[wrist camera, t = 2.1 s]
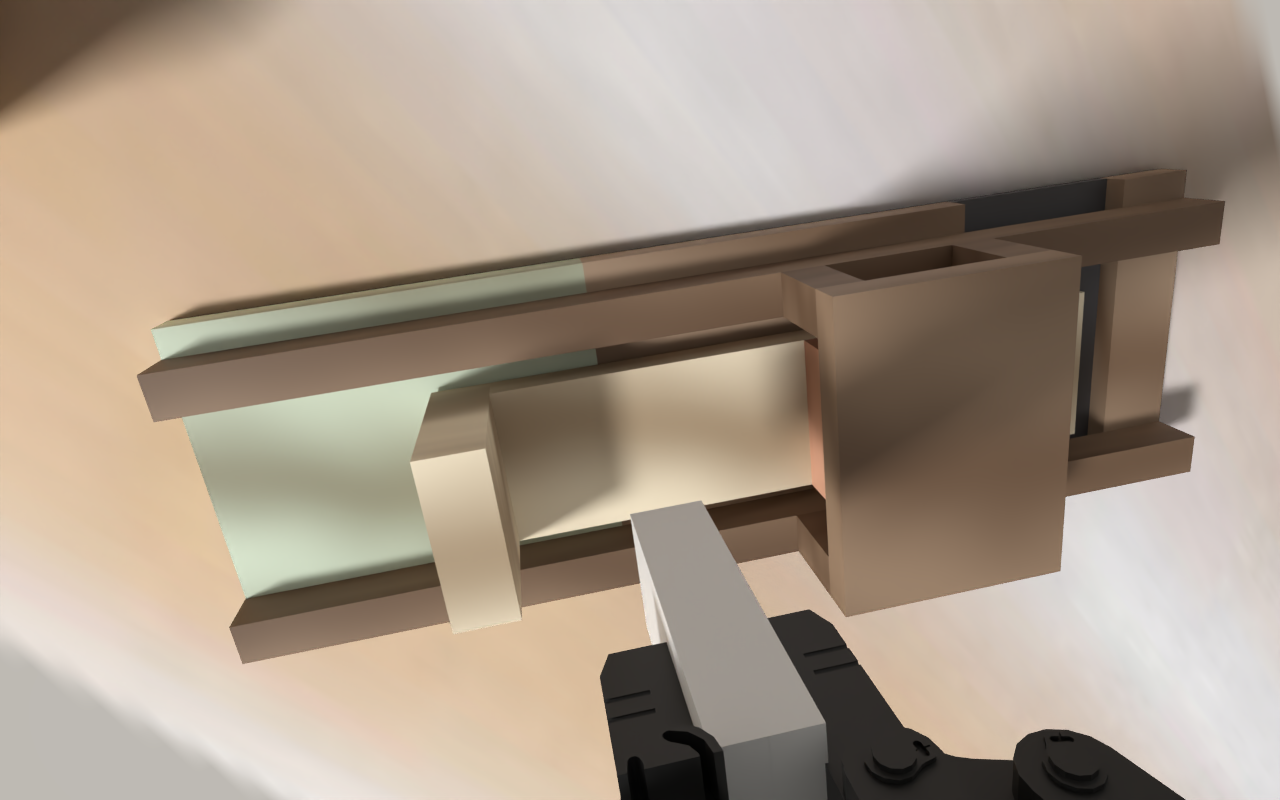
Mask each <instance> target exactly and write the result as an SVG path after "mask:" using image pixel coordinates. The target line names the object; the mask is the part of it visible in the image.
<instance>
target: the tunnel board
mask: <svg viewBox="0 0 1280 800" xmlns="http://www.w3.org/2000/svg"><path fill="white" fill-rule="evenodd" d="M1186 172H1187V170H1173V169H1156V170H1150V171H1143V172H1137V173H1130V174H1123V175H1117V176H1110V177H1104V178H1097V179H1091V180H1084V181H1078V182H1071V183H1065V184H1058V185H1052V186H1045V187H1039V188H1032V189H1026V190H1019V191H1013V192H1006V193H999V194H993V195H986V196H980V197H973V198H967V199H960V200H954V201H947V202H941V203H934V204H928V205H921V206H915V207H908V208H902V209H895V210H889V211H882V212H876V213H869V214H862V215H856V216H849V217H843V218H836V219H830V220H823V221H817V222H810V223H804V224H797V225H791V226H784V227H778V228H771V229H765V230H758V231H752V232H745V233H738V234H732V235H725V236H719V237H712V238H706V239H699V240H693V241H686V242H680V243H673V244H667V245H660V246H654V247H647V248H641V249H634V250H628V251H621V252H614V253H608V254H601V255H595V256H588V257H582V258H575V259H569V260H562V261H556V262H549V263H543V264H536V265H530V266H523V267H517V268H510V269H504V270H497V271H491V272H484V273H477V274H471V275H464V276H458V277H451V278H445V279H438V280H432V281H425V282H419V283H412V284H406V285H399V286H393V287H386V288H380V289H373V290H367V291H360V292H353V293H347V294H340V295H334V296H327V297H321V298H314V299H308V300H301V301H295V302H288V303H282V304H275V305H269V306H262V307H256V308H249V309H243V310H236V311H230V312H223V313H216V314H210V315H203V316H197V317H190V318H184V319H177V320H171V321H166V322H165V323H163V324H161V325H159V326H157V327H155V328H153V329H151V331H152V334H153V337H154V340H155V343H156V346H157V348H158V351H159V354H160V357H161V361H159V362H157V363H156V364H154V365H153V366H151V367H149V368H148V369H146V370H145V371H143V372H142V373H140V374H138V375H137V378H138V381H139V383H140V386H141V389H142V391H143V394H144V397H145V400H146V402H147V405H148V408H149V411H150V413H151V416H152V419H153V421H154V422H158V421H164V420H170V419H176V418H182V419H183V422H184V425H185V428H186V430H187V433H188V436H189V439H190V442H191V445H192V447H193V450H194V453H195V456H196V459H197V462H198V464H199V467H200V470H201V473H202V476H203V478H204V481H205V484H206V487H207V490H208V493H209V495H210V498H211V501H212V504H213V507H214V510H215V512H216V515H217V518H218V521H219V524H220V527H221V529H222V532H223V535H224V538H225V541H226V544H227V546H228V549H229V552H230V555H231V558H232V560H233V563H234V566H235V569H236V572H237V575H238V577H239V580H240V583H241V586H242V589H243V592H244V594H245V597H246V600H245V601H244V603H243V605H242V606H241V608H240V610H239V612H238V613H237V615H236V617H235V619H234V620H233V622H232V624H231V626H230V627H229V628H230V631H231V633H232V636H233V639H234V642H235V644H236V647H237V650H238V652H239V655H240V658H241V661H242V663H243V664H245V663H250V662H255V661H260V660H265V659H270V658H275V657H280V656H285V655H289V654H294V653H299V652H304V651H309V650H314V649H319V648H324V647H329V646H334V645H339V644H344V643H348V642H353V641H358V640H363V639H368V638H373V637H378V636H383V635H388V634H393V633H398V632H403V631H407V630H412V629H417V628H422V627H427V626H432V625H437V624H442V623H447V622H450V620H449V616H448V612H447V608H446V604H445V600H444V596H443V592H442V588H441V584H440V580H439V576H438V572H437V568H436V564H435V560H434V556H433V552H432V548H431V544H430V540H429V536H428V532H427V528H426V524H425V520H424V516H423V512H422V509H421V505H420V501H419V497H418V493H417V489H416V485H415V481H414V477H413V473H412V469H411V465H410V460H411V457H412V454H413V450H414V447H415V444H416V440H417V437H418V434H419V431H420V427H421V424H422V421H423V418H424V414H425V411H426V408H427V404H428V401H429V398H430V395H431V393H433V392H439V391H445V390H451V389H457V388H462V387H468V386H474V385H480V384H486V383H492V382H498V381H504V380H510V379H516V378H521V377H527V376H533V375H539V374H545V373H551V372H557V371H563V370H569V369H575V368H580V367H586V366H592V365H598V364H604V363H610V362H616V361H622V360H628V359H634V358H639V357H645V356H651V355H657V354H663V353H669V352H675V351H681V350H687V349H693V348H698V347H704V346H710V345H716V344H722V343H728V342H734V341H740V340H746V339H752V338H757V337H763V336H769V335H775V334H781V333H787V332H793V331H799V330H805V331H807V332H808V333H810V334H812V335H813V336H815V337H816V338H818V352H819V372H820V393H821V413H822V433H823V453H824V473H825V494H826V499H825V498H824V497H823V496H822V495H821V494H820V493H819V492H818V490H817V489H816V488H815V487H814V486H813V485H812V484H811V485H806V486H801V487H796V488H791V489H786V490H780V491H775V492H770V493H765V494H760V495H755V496H749V497H744V498H739V499H734V500H729V501H724V502H718V503H713V504H708V505H704V506H705V508H706V510H707V511H708V513H709V515H710V517H711V519H712V520H713V522H714V524H715V526H716V527H717V529H718V531H719V533H720V535H721V536H722V538H723V540H724V542H725V544H726V545H727V547H728V549H729V551H730V552H731V554H732V556H733V558H734V560H735V561H736V563H742V562H747V561H752V560H757V559H762V558H767V557H772V556H776V555H781V554H786V553H791V552H796V551H799V552H800V553H801V555H802V556H803V558H804V559H805V560H806V562H807V563H808V565H809V566H810V567H811V569H812V570H813V572H814V573H815V574H816V576H817V577H818V579H819V580H820V581H821V583H822V584H823V586H824V587H825V588H826V590H827V591H828V593H829V594H830V595H831V597H832V598H833V600H834V601H835V603H836V604H837V605H838V607H839V608H840V610H841V611H842V612H843V614H844V615H845V617H849V616H854V615H858V614H863V613H868V612H872V611H877V610H882V609H886V608H891V607H896V606H900V605H905V604H909V603H914V602H919V601H923V600H928V599H933V598H937V597H942V596H947V595H951V594H956V593H961V592H965V591H970V590H975V589H979V588H984V587H989V586H993V585H998V584H1003V583H1007V582H1012V581H1016V580H1021V579H1026V578H1030V577H1035V576H1040V575H1044V574H1049V573H1054V572H1058V571H1060V568H1061V554H1062V539H1063V525H1064V510H1065V497H1067V496H1072V495H1077V494H1081V493H1086V492H1091V491H1096V490H1101V489H1106V488H1111V487H1116V486H1121V485H1126V484H1131V483H1136V482H1140V481H1145V480H1150V479H1155V478H1160V477H1165V476H1170V475H1175V474H1180V473H1185V472H1190V468H1191V461H1192V453H1193V445H1194V436H1192V435H1189V434H1187V433H1185V432H1182V431H1180V430H1178V429H1175V428H1173V427H1171V426H1168V425H1166V424H1164V423H1161V422H1159V415H1160V406H1161V397H1162V388H1163V379H1164V370H1165V361H1166V352H1167V343H1168V334H1169V325H1170V316H1171V307H1172V298H1173V289H1174V280H1175V271H1176V262H1177V253H1178V251H1181V250H1187V249H1193V248H1199V247H1205V246H1211V245H1217V244H1219V243H1220V236H1221V228H1222V220H1223V212H1224V205H1225V201H1216V200H1204V199H1191V198H1184V190H1185V181H1186ZM1080 291H1082V292H1085V293H1084V307H1083V321H1082V336H1081V350H1080V364H1079V378H1078V392H1077V406H1076V420H1075V434H1070V423H1071V409H1072V394H1073V380H1074V365H1075V351H1076V336H1077V322H1078V307H1079V293H1080ZM520 574H521V607H526V606H530V605H535V604H540V603H545V602H550V601H555V600H560V599H565V598H570V597H575V596H580V595H585V594H590V593H594V592H599V591H604V590H609V589H614V588H619V587H624V586H629V585H634V584H639V583H640V578H639V571H638V564H637V558H636V551H635V544H634V538H633V531H632V524H631V520H625V521H620V522H615V523H610V524H605V525H600V526H594V527H589V528H584V529H579V530H574V531H569V532H563V533H558V534H553V535H548V536H543V537H538V538H532V539H527V540H522V541H520Z"/></svg>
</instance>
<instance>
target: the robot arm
mask: <svg viewBox="0 0 1280 800" xmlns="http://www.w3.org/2000/svg"><path fill="white" fill-rule="evenodd" d="M630 517H631V524H632V531H633V538H634V544H635V551H636V558H637V564H638V571H639V578H640V585H641V591H642V598H643V605H644V612H645V618H646V625H647V629H648V633H649V636H650V640H651V643H652V645H650V646H645V647H641V648H636V649H631V650H627V651H622V652H617V653H613V654H609V655H608V657H607V660H606V662H605V665H604V668H603V670H602V673H601V675H600V680H601V686H602V692H603V697H604V703H605V709H606V714H607V720H608V726H609V731H610V737H611V743H612V749H613V754H614V760H615V766H616V771H617V778H618V783H619V789H620V795H621V800H1185V799H1184V798H1182V797H1181V796H1180V795H1178V794H1177V793H1175V792H1174V791H1172V790H1171V789H1170V788H1168V787H1167V786H1165V785H1164V784H1162V783H1161V782H1160V781H1158V780H1157V779H1155V778H1154V777H1152V776H1151V775H1150V774H1148V773H1147V772H1145V771H1144V770H1142V769H1141V768H1140V767H1138V766H1137V765H1135V764H1134V763H1132V762H1131V761H1130V760H1128V759H1127V758H1125V757H1124V756H1122V755H1121V754H1120V753H1118V752H1117V751H1115V750H1114V749H1112V748H1111V747H1109V746H1107V745H1105V744H1104V743H1102V742H1100V741H1098V740H1096V739H1094V738H1092V737H1090V736H1087V735H1084V734H1080V733H1076V732H1073V731H1069V730H1053V729H1045V730H1041V731H1038V732H1034V733H1031V734H1028V735H1027V736H1025V737H1024V738H1023V739H1022V740H1021V741H1020V742H1019V743H1018V744H1017V745H1016V749H1015V753H1014V757H1013V760H990V759H970V758H962V757H955V756H951V755H948V754H944V753H943V751H942V750H941V749H940V748H939V747H938V746H937V745H936V744H935V743H933V742H932V741H931V740H930V739H929V738H928V737H926V736H924V735H922V734H920V733H918V732H916V731H914V730H912V729H909V728H904V727H903V725H902V724H901V722H900V721H899V720H898V718H897V717H896V715H895V714H894V712H893V711H892V709H891V708H890V707H889V705H888V704H887V702H886V701H885V699H884V698H883V696H882V695H881V694H880V692H879V691H878V689H877V688H876V686H875V685H874V683H873V682H872V681H871V679H870V678H869V676H868V675H867V673H866V672H865V670H864V669H863V668H862V666H861V665H859V664H858V660H857V659H856V657H855V656H854V655H853V653H852V652H851V650H850V649H849V648H847V646H846V643H845V642H844V640H843V639H842V637H841V636H840V634H839V633H838V631H837V630H836V629H835V627H834V626H833V624H831V623H830V622H828V621H827V620H825V619H823V618H822V617H820V616H819V615H817V614H816V613H814V612H812V611H811V610H804V611H799V612H795V613H790V614H785V615H781V616H776V617H771V618H767V617H766V615H765V613H764V611H763V610H762V608H761V606H760V604H759V602H758V601H757V599H756V597H755V595H754V594H753V592H752V590H751V588H750V586H749V585H748V583H747V581H746V579H745V577H744V576H743V574H742V572H741V570H740V569H739V567H738V565H737V563H736V561H735V560H734V558H733V556H732V554H731V552H730V551H729V549H728V547H727V545H726V544H725V542H724V540H723V538H722V536H721V535H720V533H719V531H718V529H717V527H716V526H715V524H714V522H713V520H712V519H711V517H710V515H709V513H708V511H707V510H706V508H705V506H704V504H703V502H702V501H701V500H700V501H695V502H690V503H685V504H680V505H675V506H669V507H664V508H659V509H654V510H649V511H644V512H638V513H633V514H630Z"/></svg>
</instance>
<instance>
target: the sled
mask: <svg viewBox="0 0 1280 800" xmlns="http://www.w3.org/2000/svg"><path fill="white" fill-rule="evenodd" d="M1084 293H1085V292H1082V291H1080V293H1079V307H1078V322H1077V336H1076V351H1075V365H1074V380H1073V394H1072V409H1071V423H1070V434H1075V420H1076V406H1077V392H1078V378H1079V364H1080V350H1081V336H1082V321H1083V307H1084ZM410 465H411V469H412V473H413V477H414V481H415V485H416V489H417V493H418V497H419V501H420V505H421V509H422V512H423V516H424V520H425V524H426V528H427V532H428V536H429V540H430V544H431V548H432V552H433V556H434V560H435V564H436V568H437V572H438V576H439V580H440V584H441V588H442V592H443V596H444V600H445V604H446V608H447V612H448V616H449V620H450V624H451V628H452V632H453V634H457V633H462V632H467V631H472V630H477V629H482V628H486V627H491V626H496V625H501V624H506V623H511V622H516V621H521V620H522V607H521V574H520V541H522V540H527V539H532V538H538V537H543V536H548V535H553V534H558V533H563V532H569V531H574V530H579V529H584V528H589V527H594V526H600V525H605V524H610V523H615V522H620V521H625V520H631V517H630V514H633V513H638V512H644V511H649V510H654V509H659V508H664V507H669V506H675V505H680V504H685V503H690V502H695V501H700V500H701V501H702V502H703V504H704V505H708V504H713V503H718V502H724V501H729V500H734V499H739V498H744V497H749V496H755V495H760V494H765V493H770V492H775V491H780V490H786V489H791V488H796V487H801V486H806V485H811V484H812V485H813V486H814V487H815V488H816V489H817V490H818V492H819V493H820V494H821V495H822V496H823V497H824V498H825V499H826V494H825V473H824V453H823V433H822V413H821V393H820V372H819V352H818V338H816V337H815V336H813V335H812V334H810V333H808V332H807V331H805V330H799V331H793V332H787V333H781V334H775V335H769V336H763V337H757V338H752V339H746V340H740V341H734V342H728V343H722V344H716V345H710V346H704V347H698V348H693V349H687V350H681V351H675V352H669V353H663V354H657V355H651V356H645V357H639V358H634V359H628V360H622V361H616V362H610V363H604V364H598V365H592V366H586V367H580V368H575V369H569V370H563V371H557V372H551V373H545V374H539V375H533V376H527V377H521V378H516V379H510V380H504V381H498V382H492V383H486V384H480V385H474V386H468V387H462V388H457V389H451V390H445V391H439V392H433V393H431V395H430V398H429V401H428V404H427V408H426V411H425V414H424V418H423V421H422V424H421V427H420V431H419V434H418V437H417V440H416V444H415V447H414V450H413V454H412V457H411V460H410Z"/></svg>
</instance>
